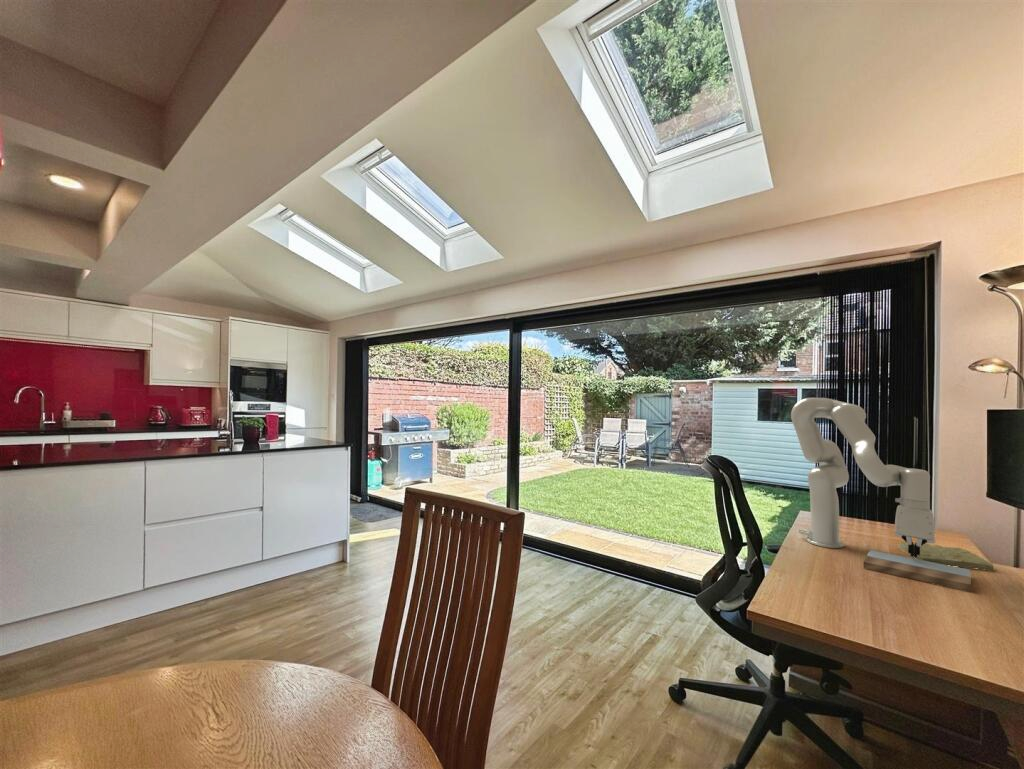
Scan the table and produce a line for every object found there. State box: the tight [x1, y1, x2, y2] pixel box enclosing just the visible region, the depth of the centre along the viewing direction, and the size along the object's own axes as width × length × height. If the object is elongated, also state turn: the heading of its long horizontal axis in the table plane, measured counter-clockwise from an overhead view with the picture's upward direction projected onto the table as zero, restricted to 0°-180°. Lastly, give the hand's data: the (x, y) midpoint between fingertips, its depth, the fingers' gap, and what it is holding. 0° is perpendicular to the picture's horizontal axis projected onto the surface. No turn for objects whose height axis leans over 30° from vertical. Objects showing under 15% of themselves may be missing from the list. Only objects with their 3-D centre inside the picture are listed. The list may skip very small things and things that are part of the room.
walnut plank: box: [863, 555, 972, 593], centre depth 146 cm, size 26×8×2 cm, turn 45°
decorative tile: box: [898, 541, 994, 572], centre depth 163 cm, size 19×20×4 cm
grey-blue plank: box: [866, 549, 971, 577], centre depth 152 cm, size 26×8×2 cm, turn 45°
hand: (913, 556), depth 154 cm, fingers closed
